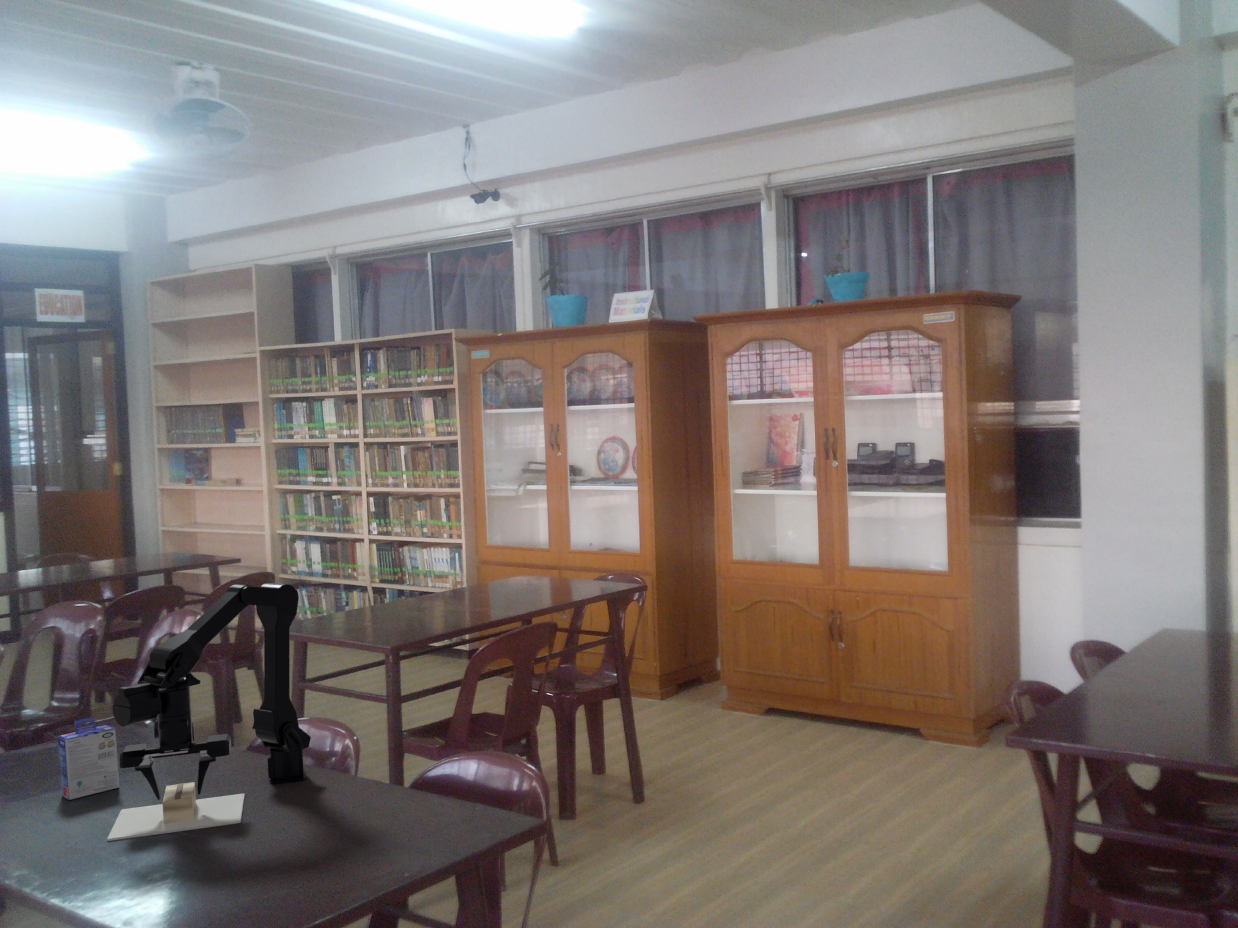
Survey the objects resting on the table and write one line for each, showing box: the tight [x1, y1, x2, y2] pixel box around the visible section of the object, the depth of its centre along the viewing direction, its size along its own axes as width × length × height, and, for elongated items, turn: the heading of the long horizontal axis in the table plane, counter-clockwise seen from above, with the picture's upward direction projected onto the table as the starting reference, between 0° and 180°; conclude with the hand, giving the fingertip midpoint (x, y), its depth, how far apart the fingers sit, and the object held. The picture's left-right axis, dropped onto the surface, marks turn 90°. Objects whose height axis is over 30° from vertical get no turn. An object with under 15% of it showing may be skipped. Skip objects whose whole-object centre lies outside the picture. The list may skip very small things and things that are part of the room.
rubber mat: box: [106, 793, 246, 842], centre depth 199 cm, size 22×16×1 cm
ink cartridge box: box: [57, 717, 120, 801], centre depth 216 cm, size 10×6×14 cm, turn 135°
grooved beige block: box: [161, 781, 197, 824], centre depth 200 cm, size 10×5×4 cm, turn 19°
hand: (179, 796), depth 200 cm, fingers open, 7 cm apart
